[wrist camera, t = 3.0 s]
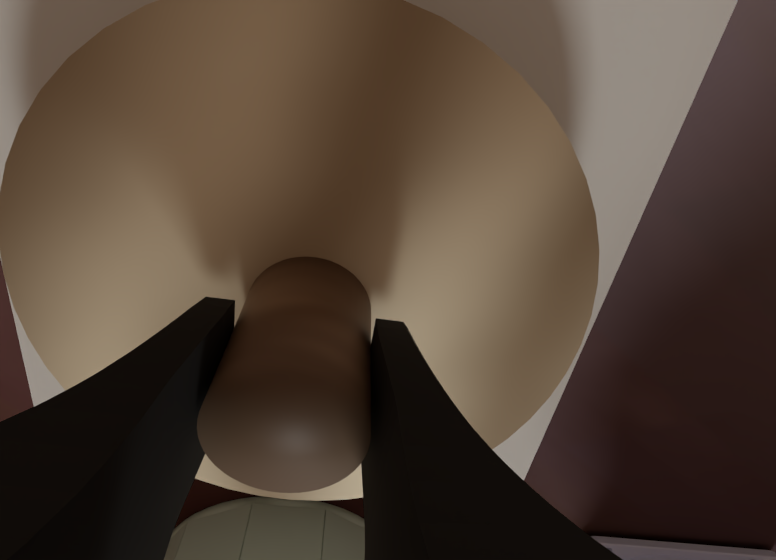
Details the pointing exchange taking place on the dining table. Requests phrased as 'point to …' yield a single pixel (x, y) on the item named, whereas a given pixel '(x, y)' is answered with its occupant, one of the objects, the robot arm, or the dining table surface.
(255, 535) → the bowl
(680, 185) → the dining table surface
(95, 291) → the lid
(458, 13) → the mat
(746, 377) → the dining table surface
